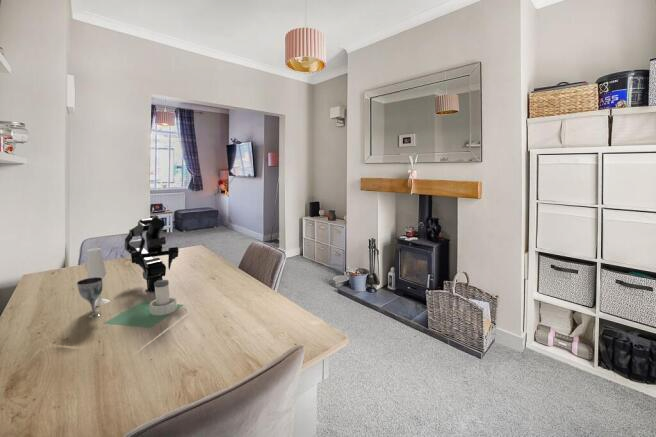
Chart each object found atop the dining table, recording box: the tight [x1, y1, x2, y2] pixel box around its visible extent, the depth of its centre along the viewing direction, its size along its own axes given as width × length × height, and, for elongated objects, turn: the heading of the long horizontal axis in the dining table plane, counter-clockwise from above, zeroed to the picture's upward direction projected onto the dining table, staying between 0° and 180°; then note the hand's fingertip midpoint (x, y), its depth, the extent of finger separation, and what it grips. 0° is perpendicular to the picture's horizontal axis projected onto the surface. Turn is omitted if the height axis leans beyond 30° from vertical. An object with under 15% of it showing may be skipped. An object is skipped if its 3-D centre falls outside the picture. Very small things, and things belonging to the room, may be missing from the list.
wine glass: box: [76, 277, 104, 319], centre depth 126 cm, size 8×8×15 cm
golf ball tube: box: [154, 279, 171, 306], centre depth 131 cm, size 5×5×12 cm
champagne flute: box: [86, 247, 110, 307], centre depth 139 cm, size 7×7×24 cm
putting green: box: [103, 296, 184, 329], centre depth 129 cm, size 20×20×4 cm
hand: (157, 270), depth 141 cm, fingers open, 9 cm apart
